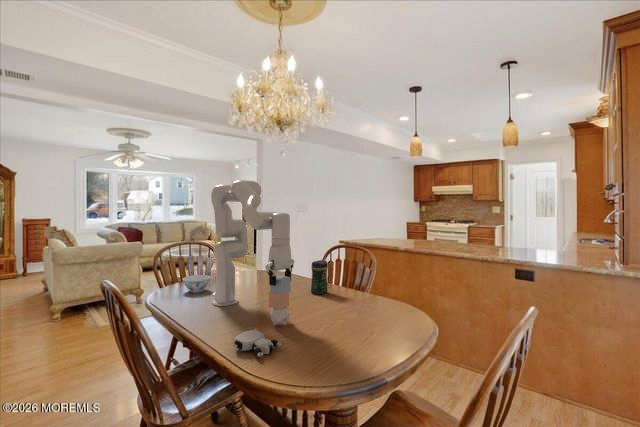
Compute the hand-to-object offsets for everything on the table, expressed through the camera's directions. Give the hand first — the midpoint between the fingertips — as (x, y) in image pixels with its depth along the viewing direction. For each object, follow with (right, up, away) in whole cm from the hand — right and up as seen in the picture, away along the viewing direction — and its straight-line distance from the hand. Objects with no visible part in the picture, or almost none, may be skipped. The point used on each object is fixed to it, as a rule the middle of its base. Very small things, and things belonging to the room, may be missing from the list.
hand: (280, 282), depth 133 cm
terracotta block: (-1, -10, 0) cm, 10 cm away
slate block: (0, -4, 0) cm, 4 cm away
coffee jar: (+16, -17, +48) cm, 54 cm away
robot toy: (-5, -18, -24) cm, 30 cm away
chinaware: (-55, -16, +50) cm, 76 cm away
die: (0, -18, 0) cm, 18 cm away
